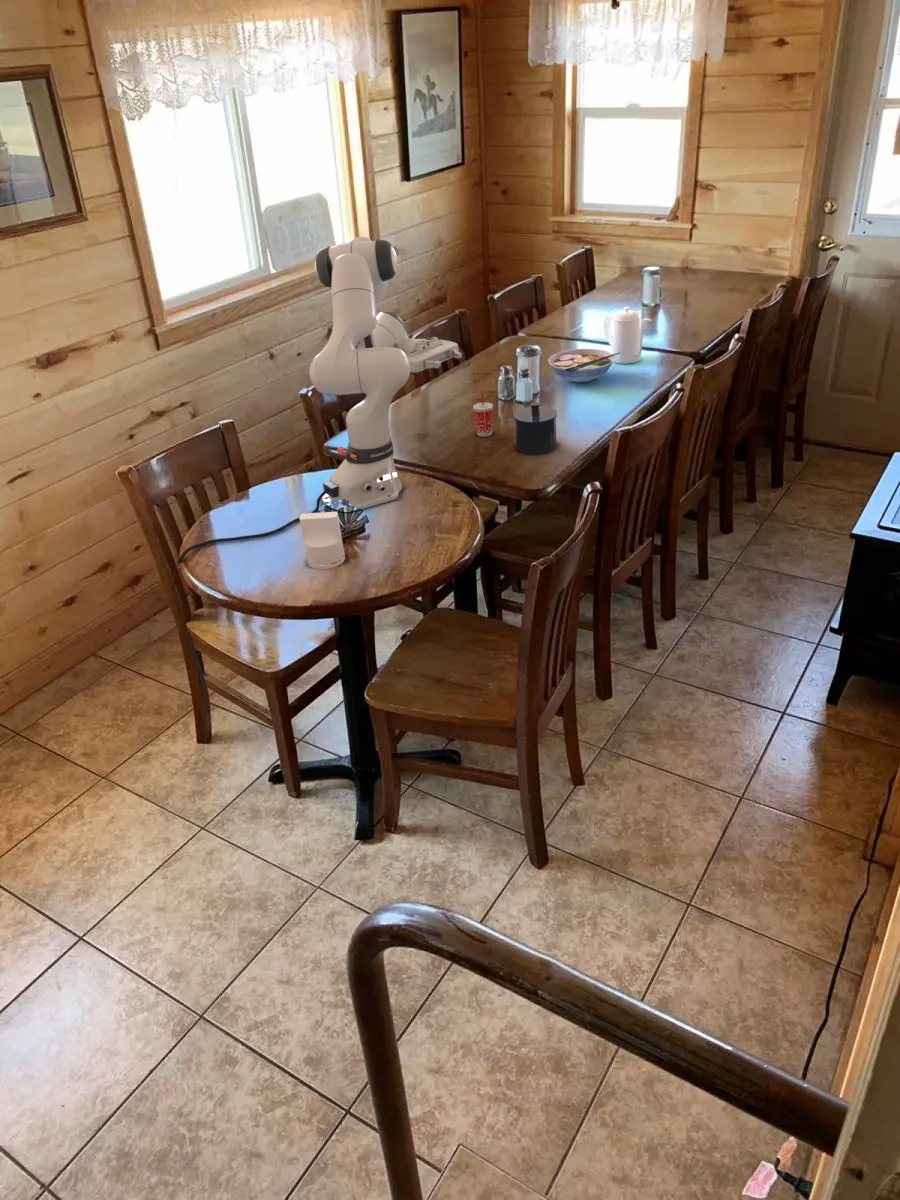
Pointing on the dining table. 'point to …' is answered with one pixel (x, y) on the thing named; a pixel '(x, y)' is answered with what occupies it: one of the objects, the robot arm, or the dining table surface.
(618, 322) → the coffeepot
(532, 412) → the pot lid
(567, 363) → the ramen bowl
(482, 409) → the beverage cup
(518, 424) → the pot
